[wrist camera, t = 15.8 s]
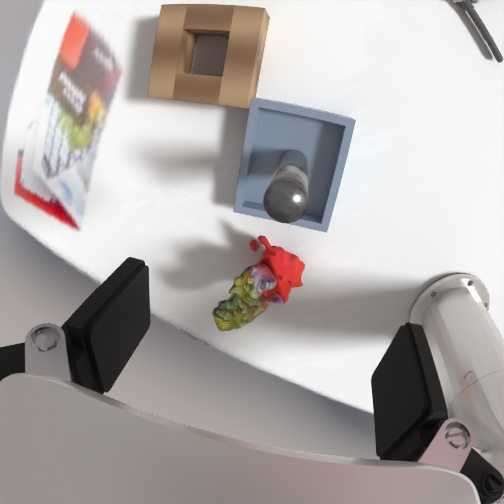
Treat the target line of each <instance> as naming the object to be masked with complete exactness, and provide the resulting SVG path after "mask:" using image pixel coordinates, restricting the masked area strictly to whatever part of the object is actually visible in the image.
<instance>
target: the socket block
mask: <svg viewBox="0 0 504 504" xmlns="http://www.w3.org/2000/svg"><path fill="white" fill-rule="evenodd" d="M269 18H270V17H269V15H268V14H267V12H266V10H265V8H258V7H248V6H235V5H217V4H168V5H162V6H161V11H160V16H159V22H158V27H157V33H156V39H155V45H154V52H153V59H152V66H151V74H150V82H149V91H148V98H157V99H171V100H182V101H192V102H202V103H210V104H218V105H226V106H233V107H240V108H246V109H247V108H250V103H251V98H255V97H256V91H257V85H258V80H259V74H260V68H261V62H262V57H263V51H264V46H265V40H266V35H267V29H268V24H269ZM196 35H212V36H226V37H229V40H228V46H227V52H226V58H225V64H224V70H223V76H222V77H219V76H209V75H198V74H190V72H191V65H192V59H193V53H194V47H195V41H196Z"/></svg>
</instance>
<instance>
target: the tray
mask: <svg viewBox="0 0 504 504" xmlns="http://www.w3.org/2000/svg"><path fill="white" fill-rule="evenodd" d="M355 121H356V120H354V119H352V118H349V117H345V116H342V115H338V114H334V113H330V112H325V111H321V110H317V109H312V108H308V107H303V106H298V105H294V104H289V103H283V102H278V101H273V100H267V99H261V98H251V103H250V109H249V115H248V121H247V127H246V133H245V139H244V146H243V152H242V158H241V165H240V171H239V178H238V184H237V191H236V198H235V204H234V211H233V212H236V213H241V214H246V215H251V216H255V217H260V218H265V219H269V220H274V219H272V218H271V217H270V216H269V215H268V214H267V212H266V211H265V208H264V204H263V198H264V194H265V192H266V189H267V187H268V186H269V184H270V181H271V179H272V176H273V174H274V171H275V169H276V166H277V164H278V161H279V159H280V156H281V155H282V154H283V153H284V152H285V151H288V150H298V151H300V152H302V153H303V154H304V155H305V156H306V158H307V161H308V197H309V204H308V209H307V211H306V213H305V215H304V216H303V217H302V218H301V219H299V220H298V221H295V222H292V223H287V224H292V225H296V226H301V227H305V228H310V229H314V230H318V231H323V232H327V230H328V226H329V223H330V219H331V216H332V212H333V208H334V205H335V201H336V197H337V194H338V190H339V186H340V182H341V178H342V174H343V171H344V167H345V163H346V159H347V155H348V150H349V146H350V142H351V138H352V134H353V129H354V125H355ZM274 221H276V220H274Z"/></svg>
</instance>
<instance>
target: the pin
mask: <svg viewBox="0 0 504 504" xmlns="http://www.w3.org/2000/svg"><path fill="white" fill-rule="evenodd" d="M263 204H264V208H265V211H266V212H267V214H268V215H269V216H270V217H271V218H272V219H274V220H276V221H278V222H281V223H292V222H295V221H298V220H299V219H301V218H302V217H303V216H304V215H305V213H306V211H307V209H308V204H309V197H308V161H307V158H306V156H305V155H304V154H303V153H302V152H300V151H298V150H288V151H285V152H284V153H283V154H282V155H281V156H280V159H279V161H278V164H277V166H276V169H275V171H274V174H273V176H272V179H271V181H270V184H269V186H268V187H267V189H266V192H265V194H264V198H263Z"/></svg>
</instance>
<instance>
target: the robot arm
mask: <svg viewBox="0 0 504 504" xmlns="http://www.w3.org/2000/svg"><path fill="white" fill-rule="evenodd" d="M489 302H490V301H489V294H488V290H487V289H486V287H485V285H484V284H483V283H482V281H481V280H480V279H478V278H477V277H475V276H472V275H469V274H454V275H450V276H447V277H444V278H442V279H440V280H438V281H437V282H435V283H434V284H432V285H431V286H429V287H428V288H427V289H426V290H425V291H424V292H423V293H422V294H421V295H420V296H419V298H418V299H417V301H416V302H415V304H414V306H413V308H412V311H411V314H410V319H409V322H408V323H406V324H405V326H404V325H402V326H401V327H400V328H399V330H398V332H397V334H396V335H395V337H394V339H393V341H392V342H391V344H390V346H389V348H388V349H387V351H386V353H385V355H384V356H383V358H382V360H381V361H380V363H379V365H378V366H377V368H376V369H375V371H374V373H373V375H372V379H371V386H372V396H373V408H374V420H375V437H376V454H377V456H379V457H380V460H373V459H361V458H349V457H339V456H330V455H322V454H315V453H308V452H301V451H295V450H289V449H283V448H277V447H272V446H267V445H262V444H258V443H253V442H248V441H244V440H240V439H236V438H231V437H227V436H223V435H220V434H216V433H212V432H209V431H205V430H202V429H198V428H194V427H191V426H187V425H185V424H181V423H178V422H175V421H172V420H169V419H166V418H163V417H160V416H157V415H154V414H152V413H149V412H146V411H143V410H141V409H138V408H135V407H133V406H130V405H127V404H124V403H122V402H119V401H117V400H114V399H112V398H110V397H107V396H105V395H103V393H104V392H109V391H110V389H111V388H112V386H113V384H114V383H115V381H116V379H117V378H118V376H119V375H120V373H121V371H122V370H123V368H124V367H125V365H126V363H127V362H128V360H129V359H130V357H131V356H132V354H133V352H134V351H135V349H136V348H137V346H138V345H139V343H140V341H141V340H142V338H143V337H144V335H145V334H146V332H147V330H148V329H149V326H150V300H149V268H148V266H146V265H145V262H144V261H143V260H139V259H136V258H132V257H129V258H127V259H126V260H125V261H124V262H123V263H122V264H121V265H120V266H119V267H118V268H117V269H116V270H115V271H114V272H113V273H112V274H111V275H110V276H109V277H108V278H107V279H106V280H105V281H104V282H103V284H102V285H100V286H99V287H98V288H97V289H96V290H95V291H94V292H93V293H92V294H91V295H90V296H89V297H88V298H87V299H86V300H85V301H84V302H83V304H82V305H81V306H80V307H79V308H78V309H77V310H76V311H75V312H74V313H73V314H72V316H71V317H70V318H69V319H68V320H67V321H66V322H65V323H64V324H63V325H62V327H61V328H60V327H59V326H57V325H55V324H50V323H47V324H41V325H38V326H36V327H34V328H33V329H31V330H30V331H29V333H28V334H27V336H26V340H25V343H20V344H15V345H10V346H5V347H0V504H504V339H503V337H502V335H501V334H500V332H499V330H498V328H497V326H496V325H495V323H494V321H493V319H492V318H491V316H490V314H489V313H488V309H489ZM472 447H475V448H477V449H480V450H481V453H480V454H478V453H477V452H476V451H475V450H474V449H473V448H472Z"/></svg>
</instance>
